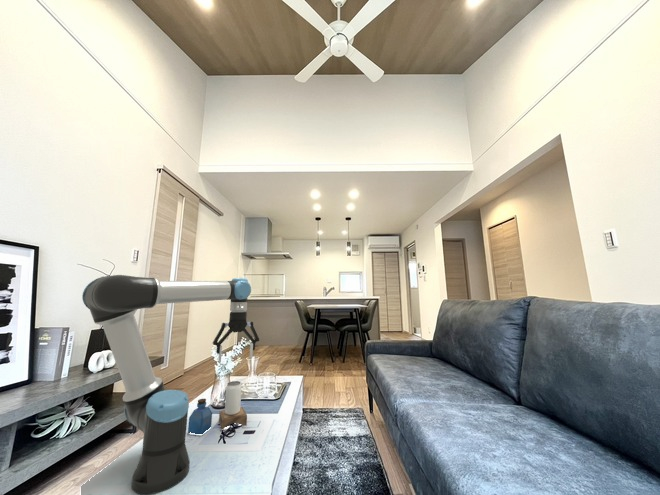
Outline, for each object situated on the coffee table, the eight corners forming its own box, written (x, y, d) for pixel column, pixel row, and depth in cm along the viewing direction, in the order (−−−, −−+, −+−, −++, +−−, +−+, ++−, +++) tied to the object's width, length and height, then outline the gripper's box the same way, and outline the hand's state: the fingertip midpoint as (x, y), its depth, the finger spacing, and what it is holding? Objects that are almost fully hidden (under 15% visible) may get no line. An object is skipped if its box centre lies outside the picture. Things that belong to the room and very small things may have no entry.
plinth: (221, 430, 110) (222, 419, 111) (218, 420, 119) (219, 410, 120) (246, 425, 115) (247, 414, 116) (242, 416, 124) (242, 405, 124)
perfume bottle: (198, 427, 113) (200, 396, 116) (211, 428, 112) (213, 397, 114) (187, 434, 108) (190, 402, 110) (201, 436, 106) (203, 403, 108)
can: (235, 416, 114) (236, 385, 116) (221, 414, 115) (223, 384, 117) (242, 409, 120) (244, 381, 122) (230, 408, 122) (231, 380, 124)
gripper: (210, 312, 116) (206, 364, 112) (266, 311, 128) (265, 357, 124) (208, 311, 122) (204, 360, 119) (262, 310, 134) (260, 354, 131)
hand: (235, 359), depth 121 cm, fingers open, 13 cm apart
